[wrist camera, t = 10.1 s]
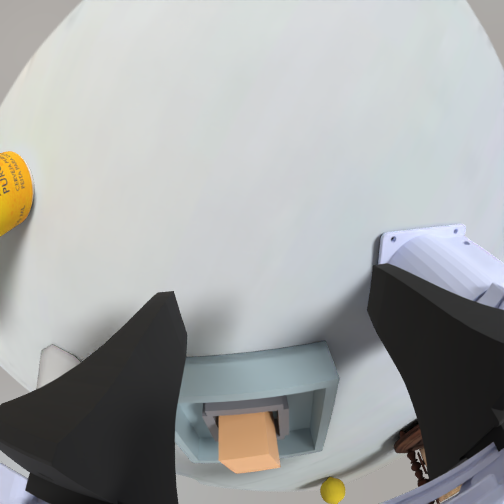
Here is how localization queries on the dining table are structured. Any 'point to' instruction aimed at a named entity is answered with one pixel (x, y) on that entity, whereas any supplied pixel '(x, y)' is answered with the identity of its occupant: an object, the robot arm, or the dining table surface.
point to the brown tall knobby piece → (409, 445)
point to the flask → (54, 364)
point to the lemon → (332, 490)
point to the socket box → (258, 397)
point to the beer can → (14, 191)
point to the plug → (248, 442)
